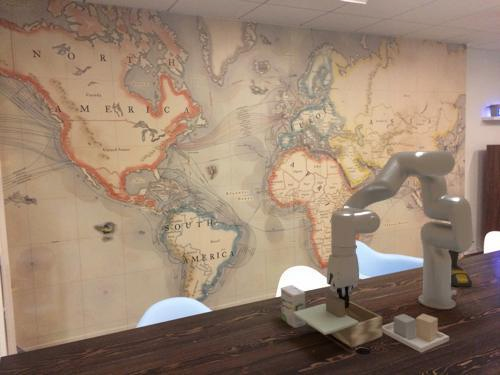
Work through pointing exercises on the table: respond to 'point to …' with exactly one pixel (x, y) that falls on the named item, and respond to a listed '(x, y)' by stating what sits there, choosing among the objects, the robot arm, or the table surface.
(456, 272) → the power drill
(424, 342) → the white tray
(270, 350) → the table surface
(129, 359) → the table surface
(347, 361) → the table surface
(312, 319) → the sage lid
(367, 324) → the birch box
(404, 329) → the granite block
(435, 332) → the sandstone block
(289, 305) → the ink box
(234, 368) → the table surface
